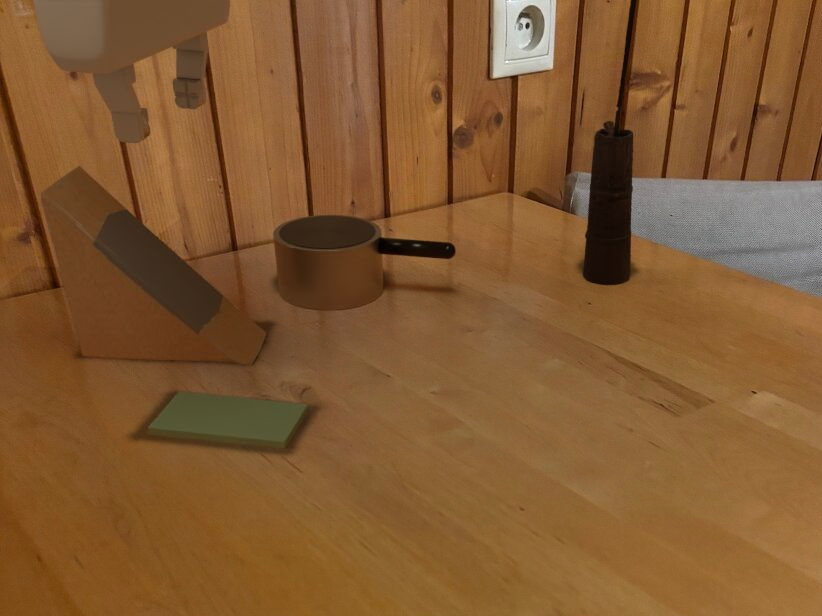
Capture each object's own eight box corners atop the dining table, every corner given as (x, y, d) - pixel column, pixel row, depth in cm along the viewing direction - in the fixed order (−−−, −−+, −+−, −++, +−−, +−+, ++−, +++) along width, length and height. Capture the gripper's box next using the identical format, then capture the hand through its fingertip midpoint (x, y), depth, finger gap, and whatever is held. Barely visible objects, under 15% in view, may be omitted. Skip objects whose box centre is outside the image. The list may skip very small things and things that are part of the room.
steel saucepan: (265, 305, 96) (258, 245, 92) (297, 267, 104) (292, 210, 100) (445, 320, 94) (445, 259, 90) (463, 280, 102) (464, 223, 98)
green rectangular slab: (139, 446, 74) (135, 430, 73) (174, 405, 79) (171, 389, 78) (285, 462, 73) (283, 445, 72) (311, 419, 78) (309, 402, 77)
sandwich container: (249, 372, 84) (226, 198, 75) (82, 366, 85) (37, 192, 75) (269, 332, 91) (250, 168, 81) (114, 326, 91) (77, 163, 82)
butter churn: (563, 254, 108) (589, -37, 91) (646, 261, 107) (689, -33, 89) (554, 283, 101) (580, -25, 84) (643, 291, 100) (688, -21, 82)
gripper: (151, -142, 63) (181, 86, 72) (-19, -132, 48) (46, 157, 57) (240, -137, 63) (259, 93, 72) (97, -125, 47) (144, 167, 56)
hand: (164, 122), depth 64 cm, fingers open, 8 cm apart
